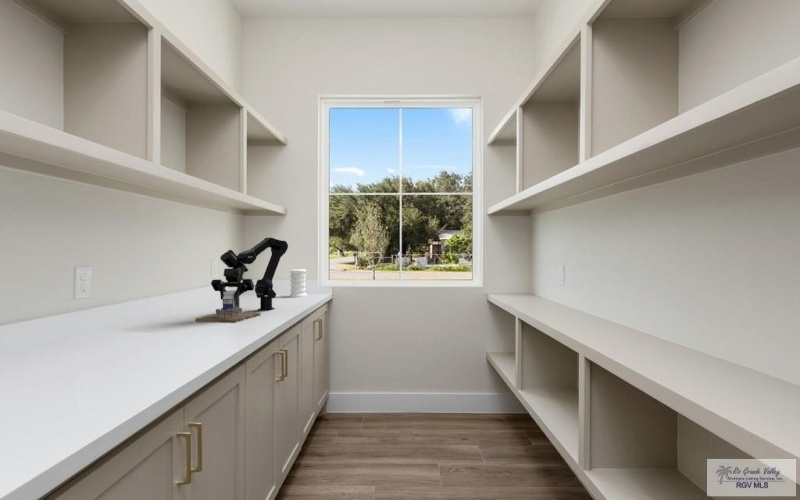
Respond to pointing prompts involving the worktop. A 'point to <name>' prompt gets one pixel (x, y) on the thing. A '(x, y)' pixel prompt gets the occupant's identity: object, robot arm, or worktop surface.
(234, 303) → the pill bottle
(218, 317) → the nut base
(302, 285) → the decorative container
